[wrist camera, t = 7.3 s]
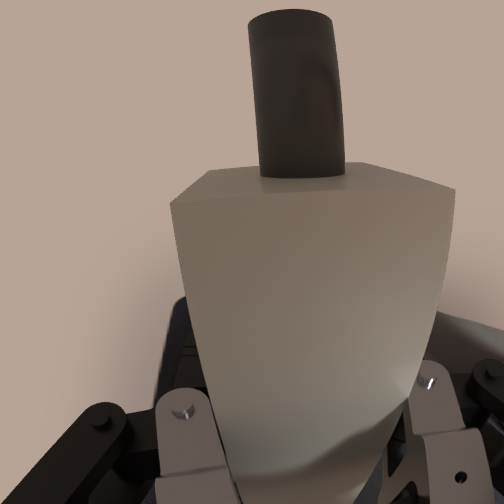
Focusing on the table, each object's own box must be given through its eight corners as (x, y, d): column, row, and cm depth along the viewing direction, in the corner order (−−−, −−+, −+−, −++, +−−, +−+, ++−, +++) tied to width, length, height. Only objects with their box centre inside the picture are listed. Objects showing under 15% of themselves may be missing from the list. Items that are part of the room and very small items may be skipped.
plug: (251, 464, 12) (199, 58, 6) (328, 456, 12) (354, 55, 6) (253, 529, 9) (155, -11, 2) (341, 519, 9) (437, 2, 2)
